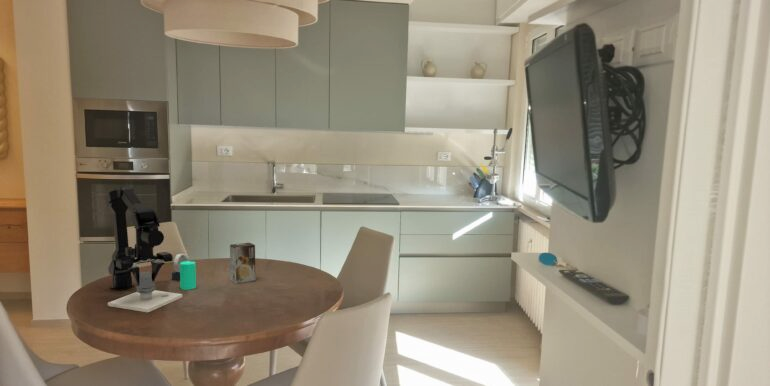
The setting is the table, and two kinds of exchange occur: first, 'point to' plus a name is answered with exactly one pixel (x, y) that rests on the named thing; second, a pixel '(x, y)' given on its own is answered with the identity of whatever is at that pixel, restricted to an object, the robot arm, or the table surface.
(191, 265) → the candle
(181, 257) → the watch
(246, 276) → the coffee box
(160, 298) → the post plate
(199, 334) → the table surface
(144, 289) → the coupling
